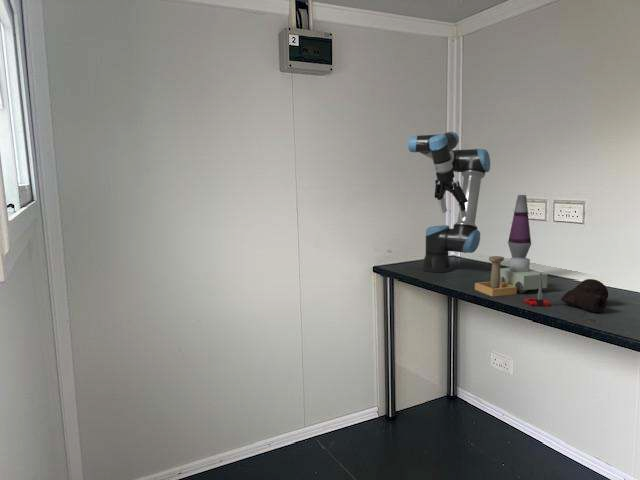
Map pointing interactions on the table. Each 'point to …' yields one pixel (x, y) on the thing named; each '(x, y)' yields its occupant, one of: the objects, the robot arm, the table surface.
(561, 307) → the table surface
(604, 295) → the dark brown irregular lump
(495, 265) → the handle
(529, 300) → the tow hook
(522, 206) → the lamp
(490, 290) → the grey and tan pieces
